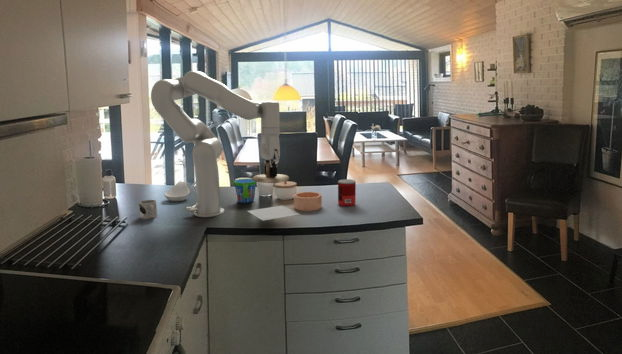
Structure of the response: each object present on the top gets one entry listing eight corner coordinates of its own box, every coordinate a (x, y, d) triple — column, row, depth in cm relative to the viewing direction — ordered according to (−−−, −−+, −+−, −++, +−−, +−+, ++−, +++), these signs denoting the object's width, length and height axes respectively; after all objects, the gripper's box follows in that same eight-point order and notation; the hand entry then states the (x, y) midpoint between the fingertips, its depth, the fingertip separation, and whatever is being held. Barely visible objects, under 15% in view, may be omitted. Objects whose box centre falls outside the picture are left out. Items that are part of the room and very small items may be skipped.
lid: (261, 184, 171) (261, 167, 170) (247, 178, 184) (247, 161, 183) (295, 180, 179) (295, 164, 177) (279, 174, 191) (279, 159, 190)
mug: (138, 216, 182) (136, 201, 181) (154, 214, 186) (153, 199, 185) (145, 222, 175) (144, 206, 173) (162, 219, 179) (161, 203, 177)
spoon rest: (187, 203, 205) (186, 188, 204) (161, 204, 204) (160, 189, 203) (197, 192, 228) (196, 178, 227) (174, 192, 228) (173, 179, 226)
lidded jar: (298, 196, 214) (297, 178, 212) (295, 202, 203) (294, 182, 201) (276, 196, 215) (276, 178, 213) (272, 201, 204) (272, 182, 202)
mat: (262, 221, 173) (262, 220, 173) (246, 212, 187) (246, 210, 187) (300, 215, 181) (300, 214, 181) (282, 206, 196) (282, 205, 195)
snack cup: (236, 198, 213) (235, 177, 211) (258, 197, 213) (257, 177, 211) (232, 206, 197) (231, 184, 196) (256, 205, 198) (255, 183, 196)
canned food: (358, 204, 198) (359, 180, 196) (347, 207, 192) (348, 183, 190) (345, 201, 203) (345, 178, 201) (334, 204, 197) (334, 181, 195)
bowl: (302, 213, 184) (302, 199, 183) (289, 207, 195) (289, 193, 193) (326, 209, 190) (326, 195, 189) (313, 203, 200) (312, 190, 199)
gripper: (253, 130, 183) (254, 173, 186) (270, 133, 169) (271, 180, 172) (270, 129, 186) (270, 171, 190) (287, 133, 172) (287, 178, 176)
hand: (270, 175), depth 181 cm, fingers closed on lid, 4 cm apart
